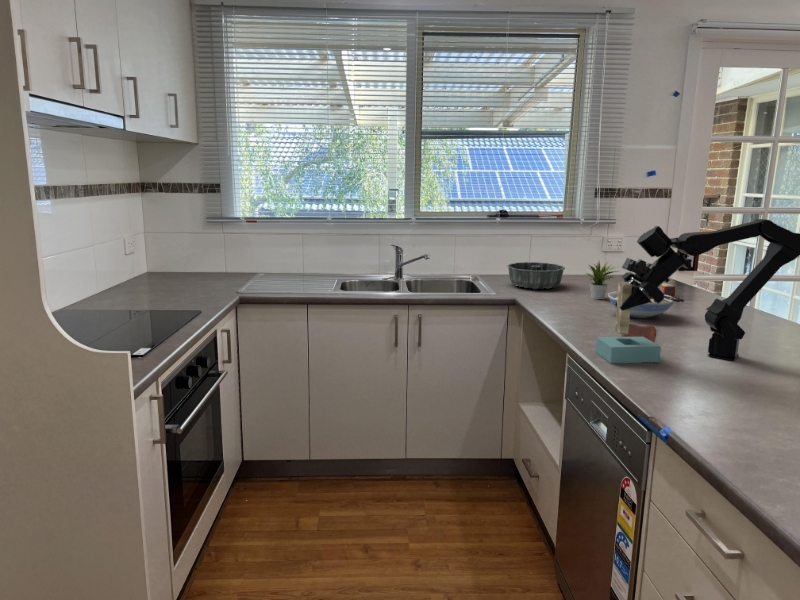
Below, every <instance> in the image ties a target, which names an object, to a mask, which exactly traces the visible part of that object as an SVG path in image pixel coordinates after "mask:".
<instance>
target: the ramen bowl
mask: <svg viewBox="0 0 800 600" xmlns="http://www.w3.org/2000/svg"><path fill="white" fill-rule="evenodd" d="M607 295H608V298H609V301H610V302H611V304H612V305H613V307H614V308H615V309H617V307H616V306H615V303H616V302H617V297H618V290H616V291H612V292H608V294H607ZM650 300H651V301H652V302H651V303H646V304H642V305H639V306H635V307H632V308H630V317H632V318H634V319H635V318H637V319H649V318H651V317H654V316H657V315H658V316H659V315H661V314H663V313H665V312H667V311H668V310H669V309H670V308H671V307H672V306H673V305H674V303H675V302H676V303H684V302H685V299H680V298H678V297H677V298H676V297H675V296H674V297H671V296H669V295H664V300H662V301H661V302H660V303H659V304H658V303H656V302H654V301H653V300H654V299H653V298H651V299H650Z"/></svg>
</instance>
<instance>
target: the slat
mask: <svg viewBox="0 0 800 600" xmlns="http://www.w3.org/2000/svg"><path fill="white" fill-rule="evenodd" d="M617 291H618V297H617V308H616V312H615V313H616V314H615V325H614V331H615V332H616V333H617V334H618V335H622V334H628V329H629V324H630V317H631V316H630V308H629V309H626V310H623V311H622V310H621V309H620V307H621V305H622V304H623V303H624V302H625V301H626V300H627V298H628V297H629V296H630V295H631V293H632V284H630V283H628V282H624V281H620V282H618V287H617Z"/></svg>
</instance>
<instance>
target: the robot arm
mask: <svg viewBox="0 0 800 600" xmlns="http://www.w3.org/2000/svg"><path fill="white" fill-rule="evenodd" d="M755 237H761V238H762V239H763V240H765V242H768V245H767V247H766V250H765V255H764V256H763V258H762V259H761V260H760V261H759V263H758V264H757V265H755V267H754V268H753V269H752V270H751V271H750V272H749V273H748V274H747V276H746V277H745V278H744V279H743V281H741V282H740V283H739V284H738V286H737V287H736V288H735V289H734V290H733V291H732V292H731V294H730V295H729V296H728V297H726V298H725V299H722V300H721V299H719V298H715V299H714V300H713V302H712V303H711V305H710V306H708V307H707V308H706V310H707V311H706V312H705V315H704V321H705V324H707V325H708V326H709V330H710V331H711V332H712V334H711V337H710V338H709V341H708V346H707V347H708V348H707V353H708V354H707V357H709V358H710V357H711V358H716V359H722V360H726V361H727V360H728V361H736V359H738V357H739V355H740V354H739V346H740V340H743V338H744V337H745V335H746V331H745V330H744V329H743V328H742V327H741V326H740V325H739V324H738V323H739V322H740V320H741V318H742V317H743V313H744V309H745V307H747V305H749V303H750V302H751V301H752V300H753V298H755V296H756V295H757V294H758V293H759V292H760V291H761V290H762V289H763V287H765V285H766V284H767V283H768V282H769V281H770V280H771V279H772V278H773V276H774V275H775V274H776V273H777V272H778V271H779V270H780V269H781V267H783V266H785V265H787V264H789V263H790V262H792V261H795V260H796V259H797V258H799V257H800V233H799V232H793V231H791V230H789V229H787V228H785V227H783V226H780V225H779V224H776V223H775V222H773V221H772V220H770V219H765V218H757V219H756V220H753V221H750V222H746V223H745V222H744V223H740V224H737V225H733V226H728V227H724V228H721V229H720V228H719V229H717V230H712V231H695V232H694V231H693V232H684V233H682V234H680V235H679V236H678V237H671V238H670V237H669V236H668V235H667V234H666V233H665V232H664V230H663V229H662V227H661V226H659V225H655V226H654V227H653V228H651V229H649V230H647V231H646V232H643V234H641V235H640V236H639V237H638V239H637V240H636V242H637V244H638V245H639V246H640V247H641V248H642V250H644V252H646V253H647V254H648V256H650V257H651V258H653V257H656V258H657V259H656V260H655V261H654V262H652V263H650V262H647V261H645V260H643V259H638V260H635V259H632V258H629V257H627V258H626V259H625V261H624V262H623V264H622V266H621V269H623V270H627V272H625V273H624V274H623V275H621V278H622V279H623V280H624V281H623V282H628V283H630V284H632V293H631V295H630V296H629V297H628V298H627V300H626V301H625V302H624V303H623V304H622V305H621V307H620V309H621V310H622V311H623V310H626V309H629V308H632V307H635V306H639V305H642V304H646V303H651V302H652V301H651V300H650V299H651V298H653V299H654V300H653V301H654V302H656V303H658V304H659V303H660V302H661V301H662V300H664V294H663V292H662V291H661V290H660V289H659V288H658V287H659V286H660V285H661V284H662V283H666V284H668V283H669V282H670V281H671V280H670V279H669V278H670V277H672V276H673V275H674V274H675V273H676V272H677V271H678V270H679V269H680V268H682V267H683V269H687V270H691V269H692V261H693V260H692V259H690V258H686V257H685V256H684V255H683V254H685V255H688V256H692V257H697V256H700V255H702V254H705V253H708V252H710V251H712V250H713V249H714V248H716V247H718V246H722V245H726V244H730V243H735V242H739V241H742V240H743V241H744V240H746V239H750V238H755ZM674 249H677V250H678V251H675V250H674ZM615 306H616V307H617V302H616V303H615Z"/></svg>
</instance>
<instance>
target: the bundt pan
mask: <svg viewBox="0 0 800 600" xmlns="http://www.w3.org/2000/svg"><path fill="white" fill-rule="evenodd" d="M507 268H508V275H509V280H510V283H511V284H512V285H513V286H514V285H517V286H519V287H518V288H520V287H524V289H525V288H529V289H531V288H532V289H531V290H537V289H538V290H540V289H542V290H551V289H550V288H552V289H555V288H557V287H558V286H559V285H560V284H561V282H562V279H563V274H564V271H565V269H566V267H565V266H563V265H560V264H557V263H550V262H537V261H534V262H533V261H529V262H528V261H524V262H521V261H520V262H514V263H509V264H507ZM517 286H516V287H517ZM544 288H546V289H544Z"/></svg>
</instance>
